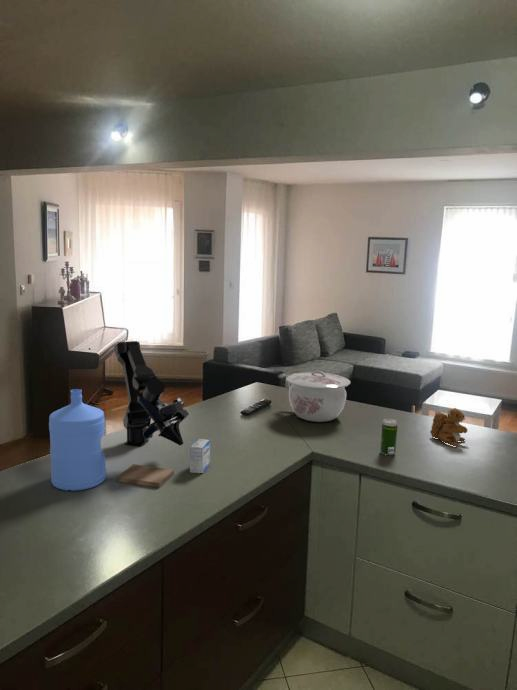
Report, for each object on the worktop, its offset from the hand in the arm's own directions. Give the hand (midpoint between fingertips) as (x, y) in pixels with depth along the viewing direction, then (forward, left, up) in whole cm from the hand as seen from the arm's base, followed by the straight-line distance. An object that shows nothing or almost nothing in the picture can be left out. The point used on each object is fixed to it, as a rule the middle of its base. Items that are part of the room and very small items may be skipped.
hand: (182, 444), depth 170 cm
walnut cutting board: (-7, -12, -7) cm, 16 cm away
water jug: (-25, -20, -7) cm, 33 cm away
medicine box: (+6, 0, -7) cm, 10 cm away
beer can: (+64, +34, -7) cm, 73 cm away
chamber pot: (+33, +67, -7) cm, 75 cm away
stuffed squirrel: (+86, +55, -7) cm, 102 cm away
